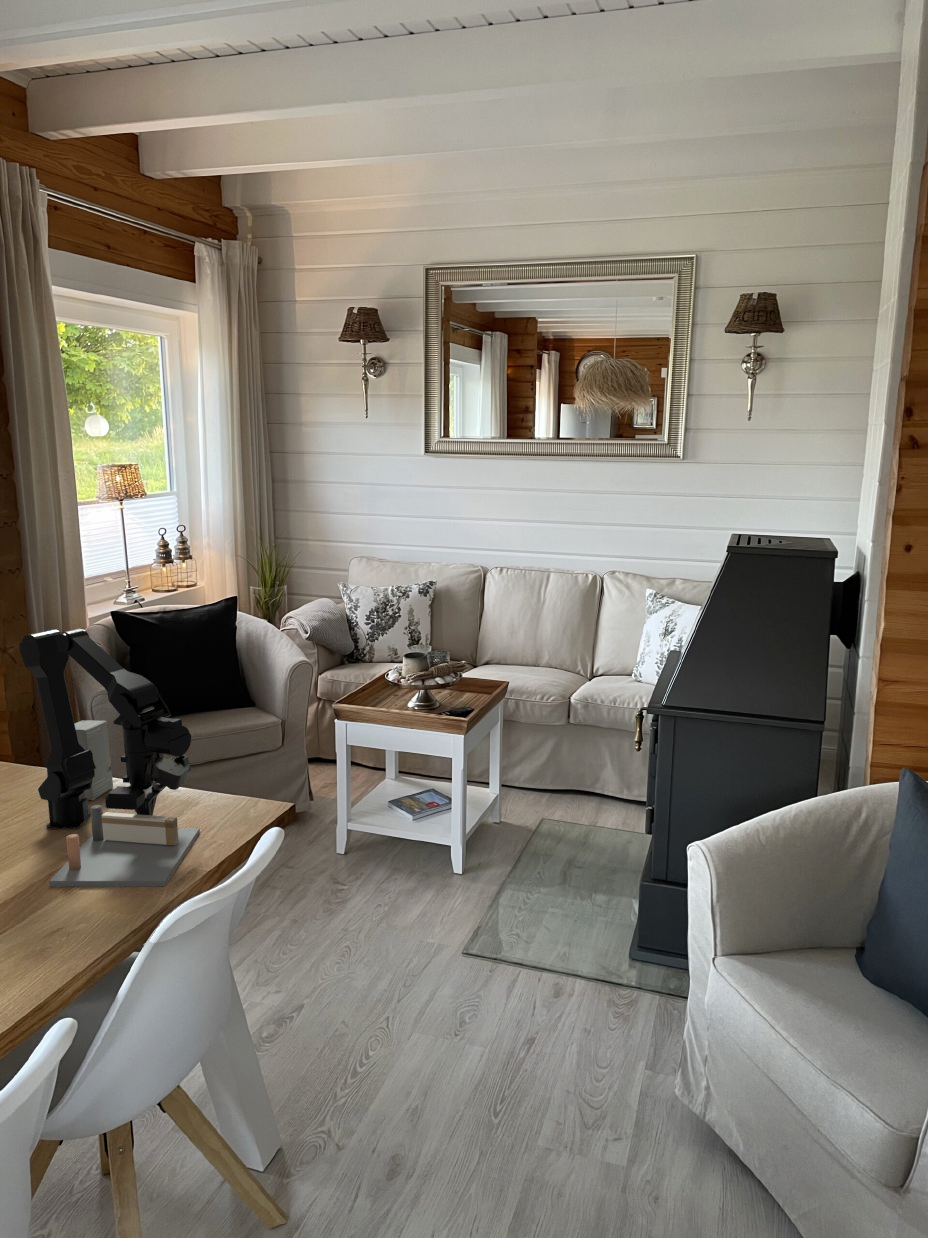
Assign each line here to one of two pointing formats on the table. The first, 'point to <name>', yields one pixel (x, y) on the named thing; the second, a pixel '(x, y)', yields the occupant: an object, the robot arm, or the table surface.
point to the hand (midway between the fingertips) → (147, 824)
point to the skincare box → (96, 754)
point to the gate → (140, 828)
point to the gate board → (120, 859)
